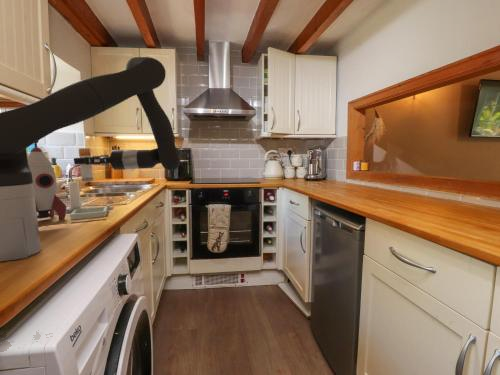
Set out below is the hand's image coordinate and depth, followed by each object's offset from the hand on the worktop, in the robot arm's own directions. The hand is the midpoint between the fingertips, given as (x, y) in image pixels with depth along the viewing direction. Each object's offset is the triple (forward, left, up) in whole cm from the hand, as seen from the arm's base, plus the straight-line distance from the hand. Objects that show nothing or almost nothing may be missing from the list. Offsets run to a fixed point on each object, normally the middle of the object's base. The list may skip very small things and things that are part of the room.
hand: (77, 160), depth 100 cm
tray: (-1, -3, -22) cm, 22 cm away
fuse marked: (-1, -3, -7) cm, 8 cm away
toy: (-3, +11, -22) cm, 25 cm away
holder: (+9, +3, -22) cm, 24 cm away
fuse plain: (+9, +3, -20) cm, 22 cm away
